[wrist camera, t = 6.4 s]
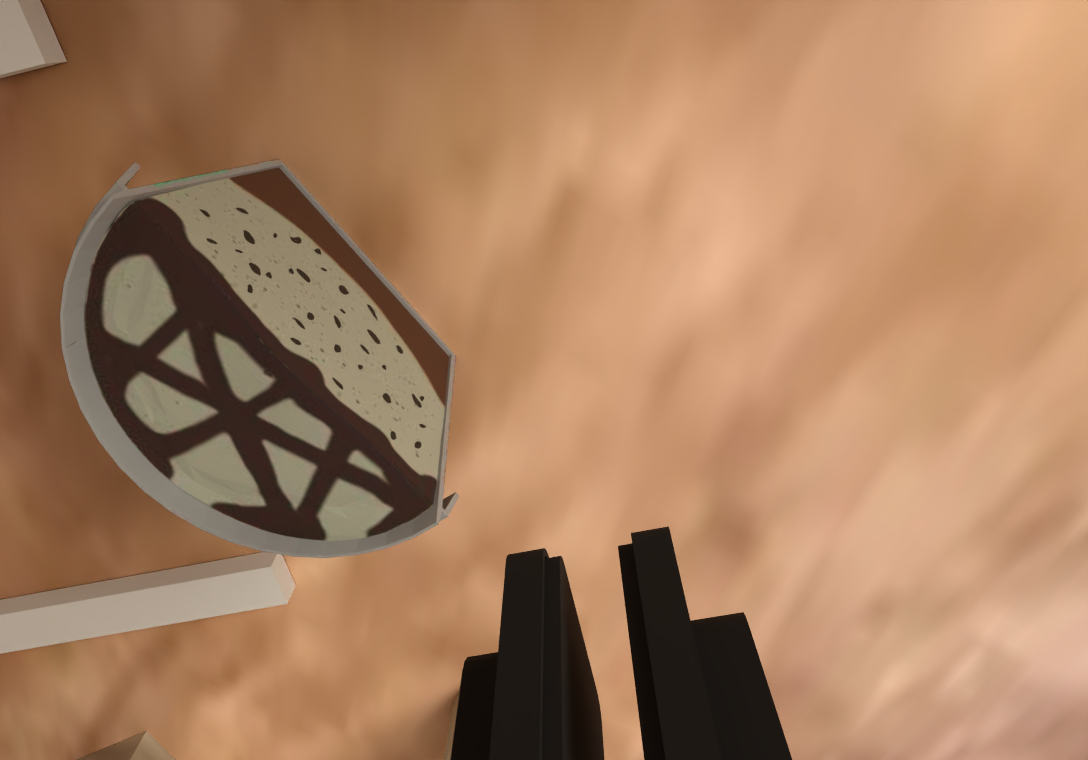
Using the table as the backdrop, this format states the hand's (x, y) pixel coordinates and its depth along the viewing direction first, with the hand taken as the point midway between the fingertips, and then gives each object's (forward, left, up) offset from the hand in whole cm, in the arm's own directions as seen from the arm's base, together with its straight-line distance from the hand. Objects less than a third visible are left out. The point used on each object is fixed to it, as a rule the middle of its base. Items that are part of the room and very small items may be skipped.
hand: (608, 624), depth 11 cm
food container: (+10, 0, -19) cm, 22 cm away
